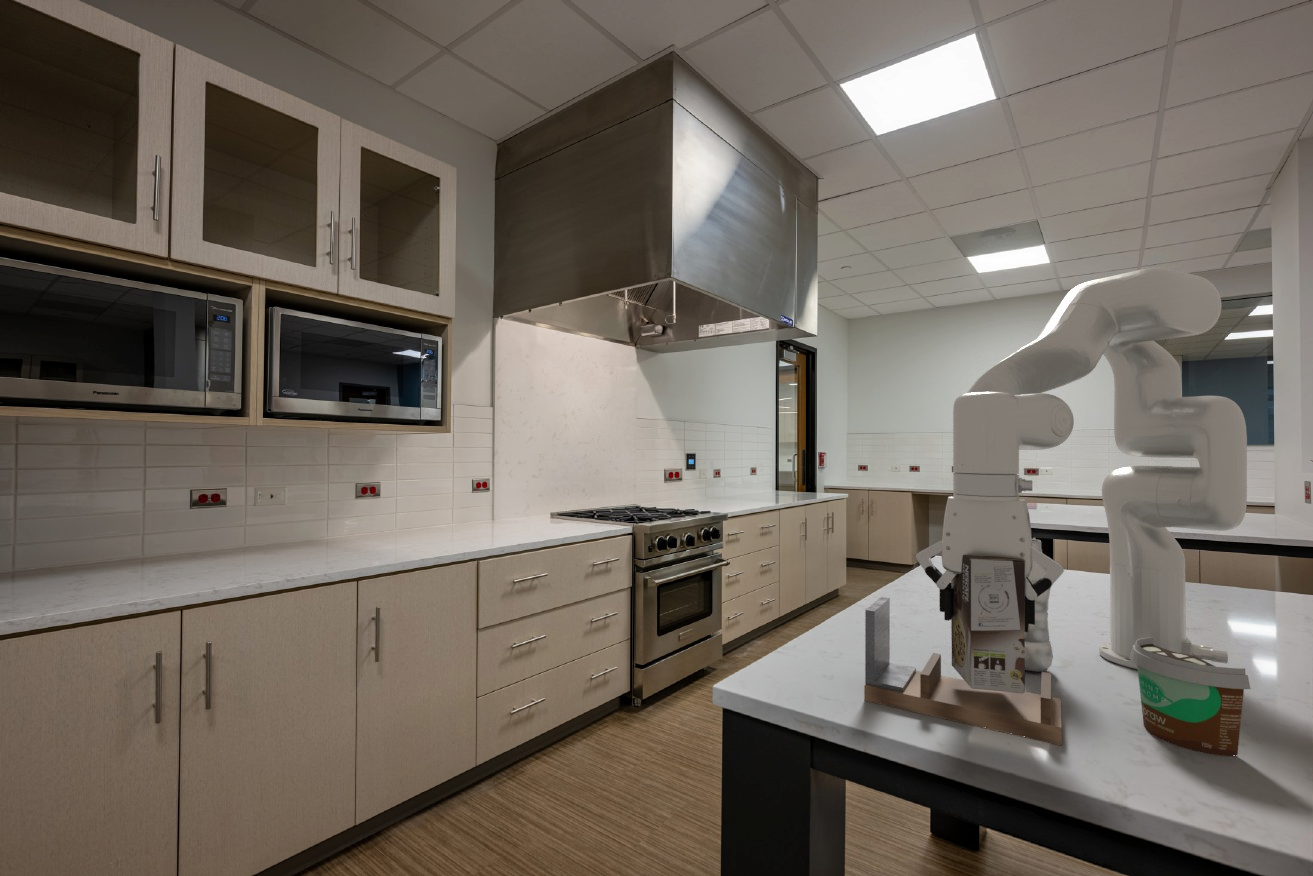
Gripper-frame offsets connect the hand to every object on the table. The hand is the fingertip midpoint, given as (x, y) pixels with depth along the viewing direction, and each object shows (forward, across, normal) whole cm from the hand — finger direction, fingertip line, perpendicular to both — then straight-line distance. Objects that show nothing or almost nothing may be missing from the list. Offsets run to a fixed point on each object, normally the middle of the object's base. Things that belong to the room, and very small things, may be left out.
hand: (985, 623), depth 78 cm
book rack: (+12, +3, 0) cm, 12 cm away
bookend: (+9, +12, 0) cm, 15 cm away
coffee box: (+7, 0, 0) cm, 7 cm away
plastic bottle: (+12, -4, -22) cm, 25 cm away
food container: (+12, -19, -5) cm, 23 cm away
